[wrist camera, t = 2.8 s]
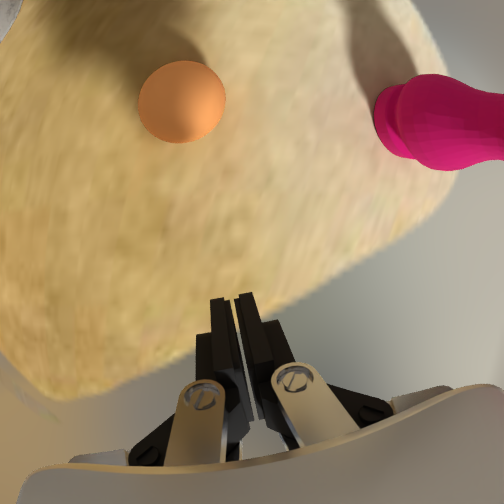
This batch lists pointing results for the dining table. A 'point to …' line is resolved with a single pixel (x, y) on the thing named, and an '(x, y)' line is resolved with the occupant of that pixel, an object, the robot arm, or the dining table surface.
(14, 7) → the speckled stone cylinder
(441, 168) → the pepper mill
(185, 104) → the ball
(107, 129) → the dining table surface
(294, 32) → the dining table surface
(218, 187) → the dining table surface
